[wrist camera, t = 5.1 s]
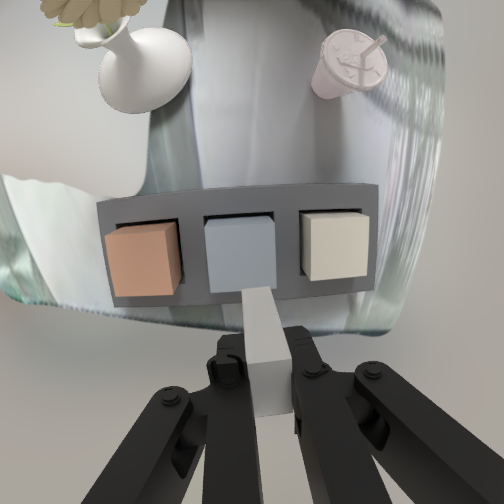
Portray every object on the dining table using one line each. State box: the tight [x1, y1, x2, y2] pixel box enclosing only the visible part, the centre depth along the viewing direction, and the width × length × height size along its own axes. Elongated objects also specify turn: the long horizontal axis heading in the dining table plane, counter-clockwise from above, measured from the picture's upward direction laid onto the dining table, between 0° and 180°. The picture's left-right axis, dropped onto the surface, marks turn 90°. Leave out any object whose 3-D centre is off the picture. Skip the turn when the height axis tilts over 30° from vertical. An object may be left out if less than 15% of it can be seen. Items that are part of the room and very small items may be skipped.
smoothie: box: [311, 29, 388, 99], centre depth 22 cm, size 6×6×14 cm
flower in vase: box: [40, 0, 193, 114], centre depth 15 cm, size 13×11×25 cm
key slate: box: [204, 215, 277, 293], centre depth 28 cm, size 6×6×5 cm
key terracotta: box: [104, 222, 182, 297], centre depth 27 cm, size 6×6×5 cm
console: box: [97, 183, 378, 307], centre depth 31 cm, size 12×30×4 cm, turn 93°
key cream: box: [299, 210, 369, 281], centre depth 29 cm, size 6×6×5 cm
